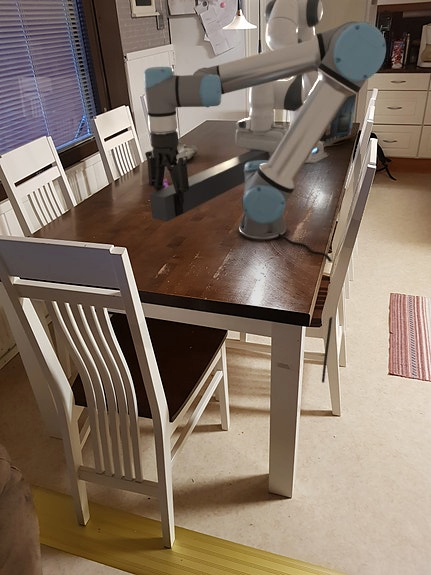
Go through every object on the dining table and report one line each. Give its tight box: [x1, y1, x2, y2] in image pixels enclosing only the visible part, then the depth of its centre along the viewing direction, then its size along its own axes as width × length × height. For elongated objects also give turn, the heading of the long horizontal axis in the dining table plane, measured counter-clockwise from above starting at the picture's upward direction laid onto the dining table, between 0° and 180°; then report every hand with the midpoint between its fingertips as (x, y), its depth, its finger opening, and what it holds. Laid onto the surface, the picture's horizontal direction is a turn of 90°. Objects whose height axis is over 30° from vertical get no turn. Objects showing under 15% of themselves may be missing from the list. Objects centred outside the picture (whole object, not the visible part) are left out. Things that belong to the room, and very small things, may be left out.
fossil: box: [177, 142, 199, 161], centre depth 229 cm, size 18×11×15 cm
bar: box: [149, 150, 270, 223], centre depth 151 cm, size 61×6×7 cm, turn 144°
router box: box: [305, 94, 357, 144], centre depth 238 cm, size 36×11×27 cm, turn 134°
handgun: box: [153, 177, 169, 188], centre depth 189 cm, size 21×8×2 cm, turn 11°
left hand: (171, 212), depth 135 cm, fingers closed on bar, 6 cm apart
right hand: (260, 162), depth 168 cm, fingers closed on bar, 5 cm apart
